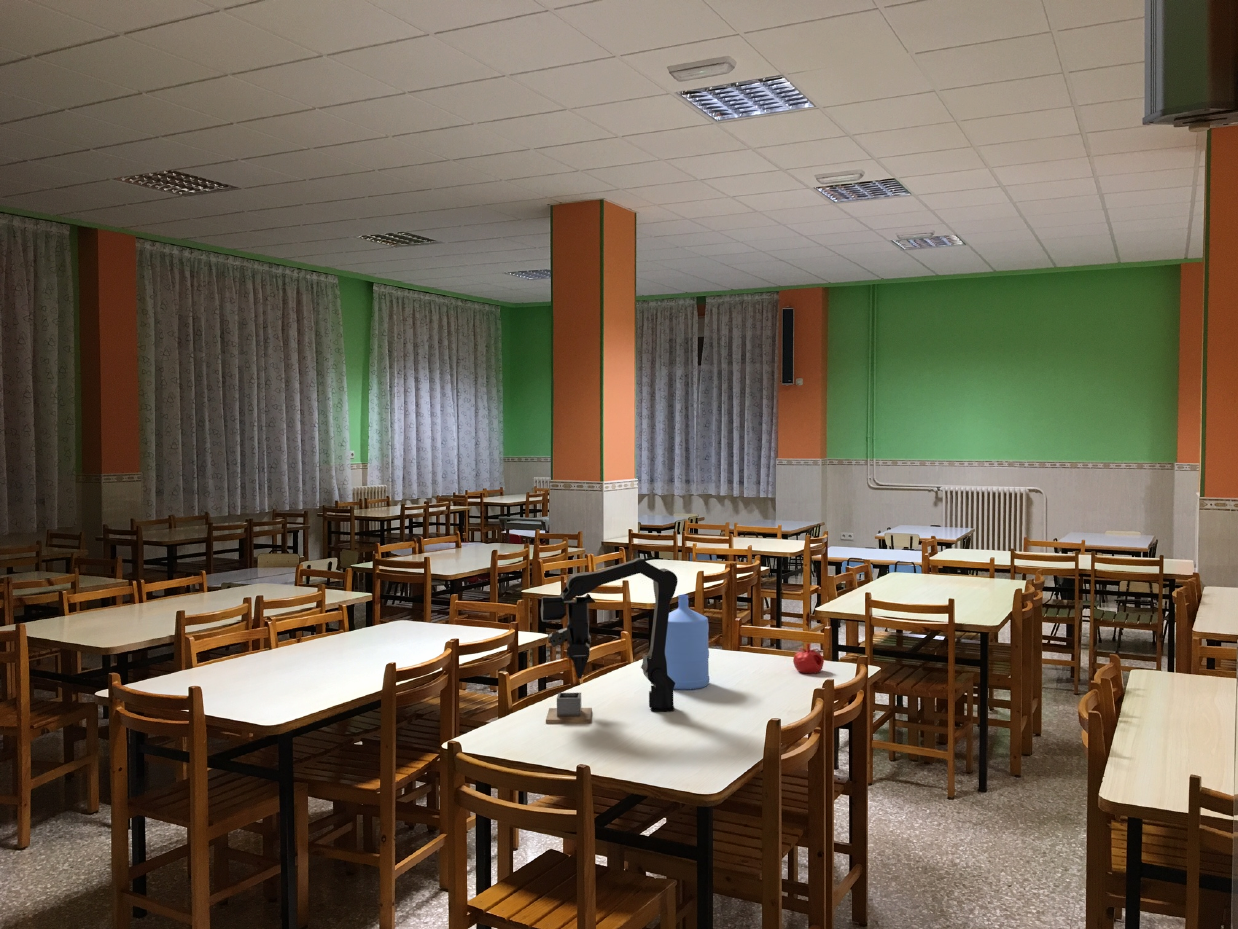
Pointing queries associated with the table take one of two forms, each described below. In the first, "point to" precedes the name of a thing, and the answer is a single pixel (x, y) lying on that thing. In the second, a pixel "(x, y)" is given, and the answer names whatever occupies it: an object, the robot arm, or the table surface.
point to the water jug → (687, 647)
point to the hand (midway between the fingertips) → (579, 674)
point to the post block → (583, 718)
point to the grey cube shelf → (569, 705)
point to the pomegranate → (808, 661)
